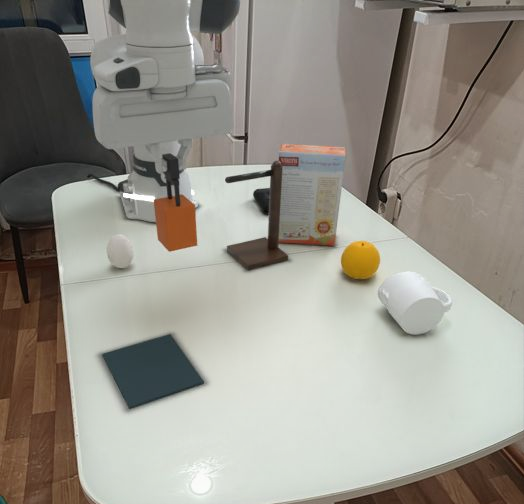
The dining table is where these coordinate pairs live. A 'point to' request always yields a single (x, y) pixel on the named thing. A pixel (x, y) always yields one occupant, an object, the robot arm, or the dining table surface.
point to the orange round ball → (360, 260)
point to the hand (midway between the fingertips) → (171, 170)
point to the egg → (120, 251)
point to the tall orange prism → (175, 213)
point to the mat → (151, 370)
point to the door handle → (263, 198)
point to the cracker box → (310, 193)
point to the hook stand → (263, 248)
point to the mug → (414, 302)
